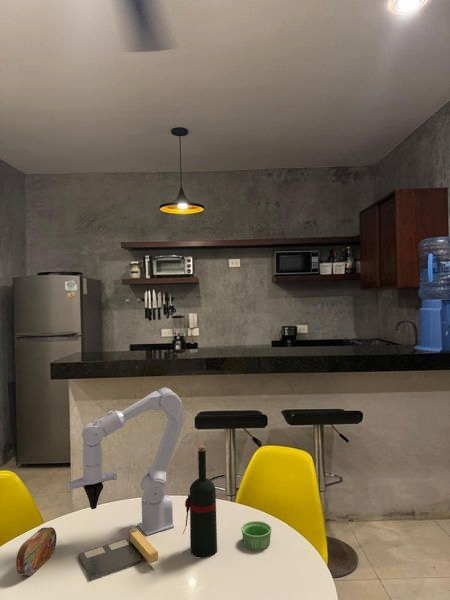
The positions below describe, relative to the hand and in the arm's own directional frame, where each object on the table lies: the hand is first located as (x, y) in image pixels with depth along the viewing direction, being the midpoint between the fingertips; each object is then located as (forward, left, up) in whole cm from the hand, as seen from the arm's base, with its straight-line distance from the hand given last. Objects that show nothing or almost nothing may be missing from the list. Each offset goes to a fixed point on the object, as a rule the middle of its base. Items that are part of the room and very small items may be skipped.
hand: (93, 507), depth 135 cm
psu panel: (-2, +14, -9) cm, 17 cm away
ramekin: (-40, +30, -10) cm, 51 cm away
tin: (+17, +5, -10) cm, 20 cm away
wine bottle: (-24, +24, -10) cm, 35 cm away
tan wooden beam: (-9, +17, -8) cm, 21 cm away
